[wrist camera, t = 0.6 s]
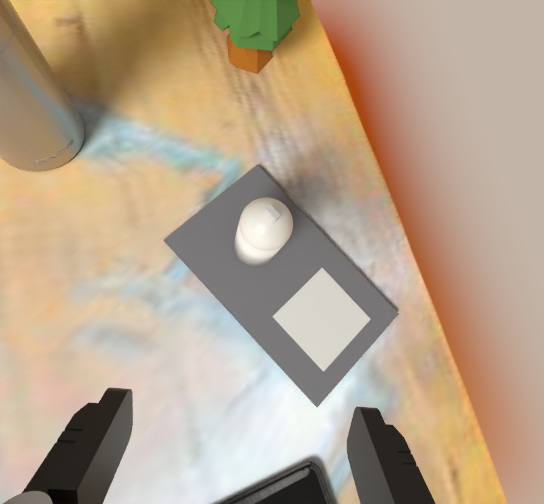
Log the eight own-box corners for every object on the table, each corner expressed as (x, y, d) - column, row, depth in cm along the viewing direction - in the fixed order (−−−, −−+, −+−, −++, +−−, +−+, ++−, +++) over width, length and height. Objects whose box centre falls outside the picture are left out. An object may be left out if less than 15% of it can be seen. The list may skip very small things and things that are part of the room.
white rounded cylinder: (224, 243, 38) (230, 208, 27) (256, 216, 39) (273, 172, 28) (254, 275, 37) (272, 253, 26) (284, 247, 39) (314, 214, 28)
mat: (164, 241, 37) (163, 239, 36) (257, 166, 41) (257, 164, 40) (315, 405, 36) (317, 407, 35) (396, 313, 40) (399, 313, 39)
